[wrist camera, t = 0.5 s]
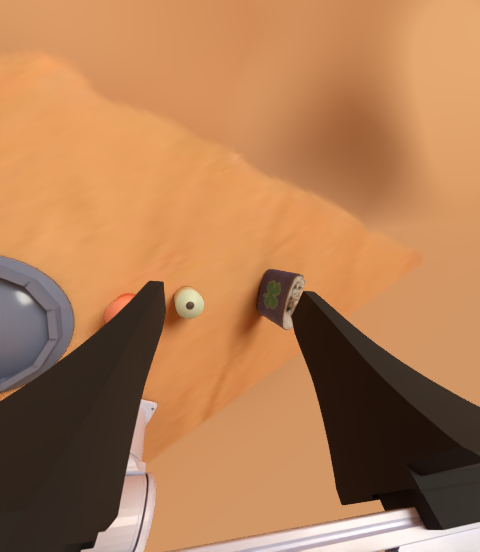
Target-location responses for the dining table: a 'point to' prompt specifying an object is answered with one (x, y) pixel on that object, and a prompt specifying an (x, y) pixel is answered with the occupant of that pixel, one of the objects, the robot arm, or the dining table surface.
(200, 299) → the sage bead
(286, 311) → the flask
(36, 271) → the round tray
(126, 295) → the vermilion bead
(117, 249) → the dining table surface
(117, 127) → the dining table surface
